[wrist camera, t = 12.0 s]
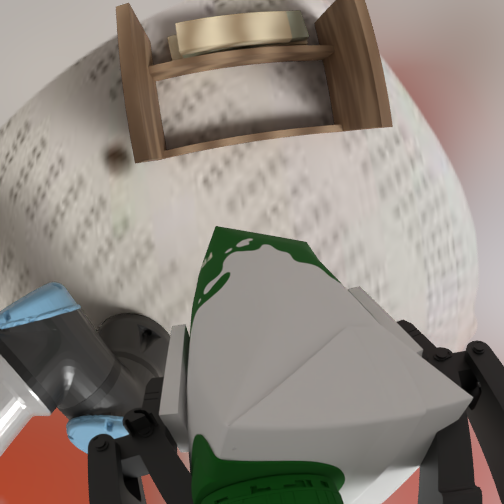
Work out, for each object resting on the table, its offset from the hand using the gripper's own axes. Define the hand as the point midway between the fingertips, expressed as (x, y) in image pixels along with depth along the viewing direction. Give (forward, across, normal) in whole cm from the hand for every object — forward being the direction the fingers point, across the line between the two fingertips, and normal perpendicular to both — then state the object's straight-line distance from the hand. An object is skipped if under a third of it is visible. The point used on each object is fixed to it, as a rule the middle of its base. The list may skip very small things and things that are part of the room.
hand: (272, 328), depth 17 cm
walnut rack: (+30, -5, -20) cm, 37 cm away
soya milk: (+8, 0, 0) cm, 8 cm away
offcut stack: (+31, -5, -27) cm, 41 cm away
